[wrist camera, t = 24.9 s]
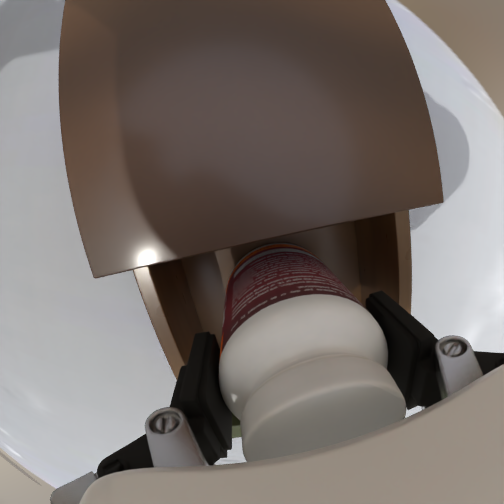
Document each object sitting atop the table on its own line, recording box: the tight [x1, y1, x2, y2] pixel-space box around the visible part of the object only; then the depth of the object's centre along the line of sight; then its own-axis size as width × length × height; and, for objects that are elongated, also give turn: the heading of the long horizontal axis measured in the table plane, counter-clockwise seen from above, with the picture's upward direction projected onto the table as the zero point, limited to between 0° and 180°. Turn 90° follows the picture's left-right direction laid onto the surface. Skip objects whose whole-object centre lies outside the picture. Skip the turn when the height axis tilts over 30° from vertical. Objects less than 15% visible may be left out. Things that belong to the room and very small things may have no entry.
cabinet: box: [59, 0, 443, 278], centre depth 11 cm, size 15×15×8 cm
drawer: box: [133, 210, 412, 438], centre depth 15 cm, size 18×13×6 cm
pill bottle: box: [219, 243, 406, 462], centre depth 11 cm, size 6×6×11 cm
